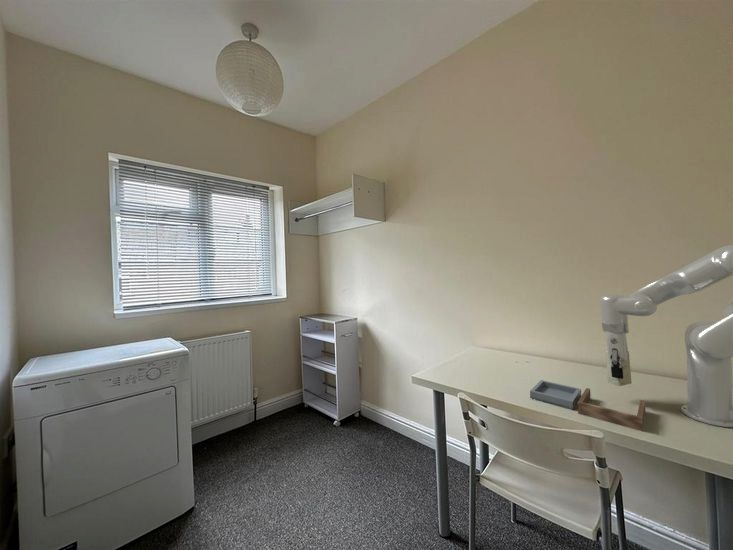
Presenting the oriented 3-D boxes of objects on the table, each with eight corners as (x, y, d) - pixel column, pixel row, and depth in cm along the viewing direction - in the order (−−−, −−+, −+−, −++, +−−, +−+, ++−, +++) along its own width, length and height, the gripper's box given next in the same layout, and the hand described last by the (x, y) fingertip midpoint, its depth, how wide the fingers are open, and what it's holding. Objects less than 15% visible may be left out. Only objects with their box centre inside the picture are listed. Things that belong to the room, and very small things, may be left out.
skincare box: (620, 386, 105) (617, 353, 105) (607, 382, 110) (604, 351, 110) (632, 383, 107) (629, 351, 107) (619, 379, 111) (616, 348, 111)
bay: (645, 412, 100) (645, 400, 99) (642, 431, 89) (641, 418, 89) (586, 398, 112) (586, 387, 111) (577, 413, 101) (577, 402, 101)
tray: (581, 396, 113) (581, 388, 113) (572, 410, 104) (572, 401, 104) (541, 386, 123) (541, 379, 123) (530, 398, 114) (529, 391, 114)
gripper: (625, 333, 100) (630, 384, 100) (630, 324, 111) (634, 369, 112) (598, 331, 105) (602, 379, 105) (605, 323, 117) (609, 366, 117)
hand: (618, 374), depth 108 cm, fingers closed on skincare box, 7 cm apart
